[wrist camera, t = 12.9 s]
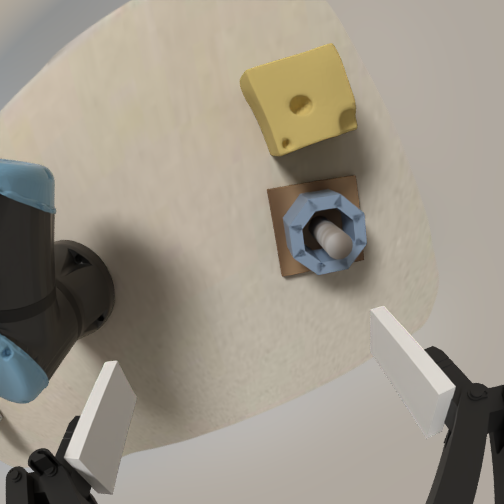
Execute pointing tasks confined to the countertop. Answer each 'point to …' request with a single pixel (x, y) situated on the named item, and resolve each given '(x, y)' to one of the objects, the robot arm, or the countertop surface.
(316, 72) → the cheese
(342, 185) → the post
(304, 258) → the ring
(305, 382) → the countertop surface
